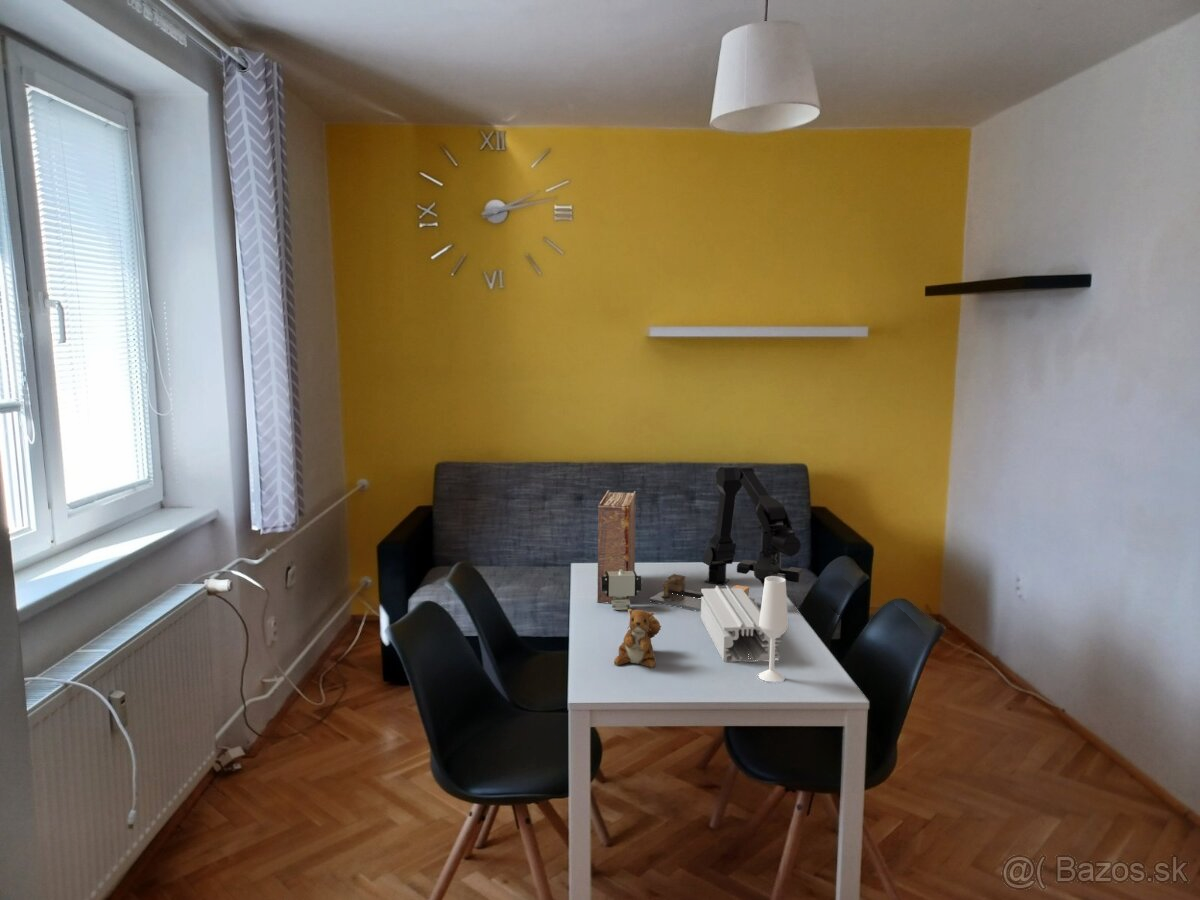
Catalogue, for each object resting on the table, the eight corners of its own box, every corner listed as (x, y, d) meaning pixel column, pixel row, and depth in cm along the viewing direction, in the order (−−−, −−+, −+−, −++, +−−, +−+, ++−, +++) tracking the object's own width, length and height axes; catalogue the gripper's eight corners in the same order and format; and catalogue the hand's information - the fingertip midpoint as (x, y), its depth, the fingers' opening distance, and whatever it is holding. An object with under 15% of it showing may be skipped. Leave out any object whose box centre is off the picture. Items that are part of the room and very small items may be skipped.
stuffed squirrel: (612, 666, 193) (612, 614, 191) (626, 645, 206) (626, 596, 204) (652, 671, 190) (653, 618, 188) (663, 649, 204) (664, 600, 202)
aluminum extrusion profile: (749, 619, 227) (750, 585, 226) (779, 662, 197) (781, 623, 196) (700, 619, 226) (701, 586, 225) (723, 663, 196) (724, 624, 195)
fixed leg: (673, 586, 251) (673, 573, 250) (684, 588, 249) (685, 575, 248) (658, 595, 242) (658, 582, 241) (670, 597, 240) (670, 584, 239)
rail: (669, 590, 251) (669, 583, 251) (754, 606, 237) (754, 598, 237) (665, 593, 249) (665, 585, 248) (750, 609, 234) (750, 601, 234)
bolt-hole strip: (661, 594, 247) (661, 591, 247) (733, 608, 235) (733, 604, 235) (649, 601, 240) (649, 598, 240) (723, 616, 228) (723, 612, 228)
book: (607, 578, 264) (608, 489, 260) (634, 579, 263) (636, 490, 258) (597, 603, 239) (598, 505, 235) (627, 604, 238) (629, 506, 234)
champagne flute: (753, 671, 190) (757, 575, 187) (781, 671, 191) (785, 574, 187) (761, 683, 184) (765, 583, 180) (789, 683, 184) (793, 583, 181)
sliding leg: (735, 598, 240) (736, 584, 240) (748, 600, 238) (749, 587, 238) (722, 607, 231) (723, 594, 231) (735, 610, 229) (736, 596, 229)
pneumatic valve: (641, 611, 232) (641, 571, 230) (601, 612, 231) (601, 572, 229) (638, 604, 237) (639, 566, 236) (599, 605, 236) (600, 566, 235)
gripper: (730, 548, 228) (728, 601, 231) (794, 558, 219) (791, 612, 221) (744, 540, 238) (742, 590, 240) (805, 549, 228) (803, 601, 231)
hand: (769, 598), depth 233 cm, fingers closed
